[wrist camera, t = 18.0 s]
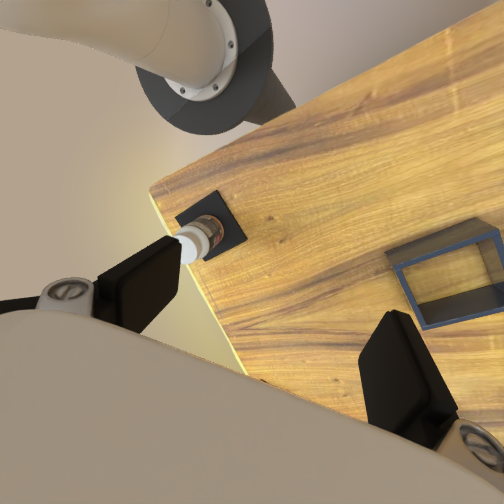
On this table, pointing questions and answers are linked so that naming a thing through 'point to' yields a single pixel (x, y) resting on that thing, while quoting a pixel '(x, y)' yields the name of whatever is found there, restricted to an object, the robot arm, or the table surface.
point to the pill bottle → (199, 238)
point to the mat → (219, 210)
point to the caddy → (465, 304)
